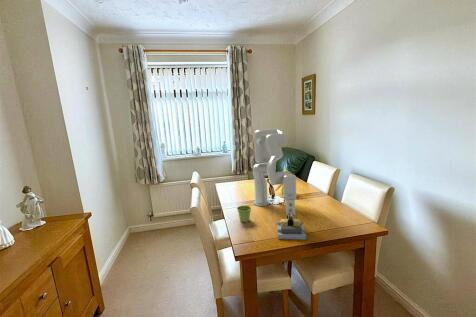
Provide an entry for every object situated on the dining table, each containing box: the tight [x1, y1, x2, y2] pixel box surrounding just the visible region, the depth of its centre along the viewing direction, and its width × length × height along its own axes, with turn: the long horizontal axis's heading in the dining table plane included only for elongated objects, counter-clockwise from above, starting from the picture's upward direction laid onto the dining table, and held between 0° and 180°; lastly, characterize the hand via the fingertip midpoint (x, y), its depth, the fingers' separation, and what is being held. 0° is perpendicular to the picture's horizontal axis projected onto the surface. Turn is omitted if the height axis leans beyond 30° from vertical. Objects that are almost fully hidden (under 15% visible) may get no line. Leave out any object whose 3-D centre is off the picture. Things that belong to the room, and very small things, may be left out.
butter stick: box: [280, 218, 301, 226], centre depth 138 cm, size 11×4×4 cm, turn 82°
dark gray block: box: [281, 226, 302, 234], centre depth 130 cm, size 11×4×4 cm, turn 83°
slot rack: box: [276, 221, 307, 240], centre depth 134 cm, size 16×15×2 cm
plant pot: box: [236, 204, 252, 223], centre depth 152 cm, size 9×9×9 cm
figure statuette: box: [274, 169, 288, 196], centre depth 195 cm, size 18×8×22 cm, turn 86°
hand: (290, 222), depth 138 cm, fingers open, 9 cm apart
